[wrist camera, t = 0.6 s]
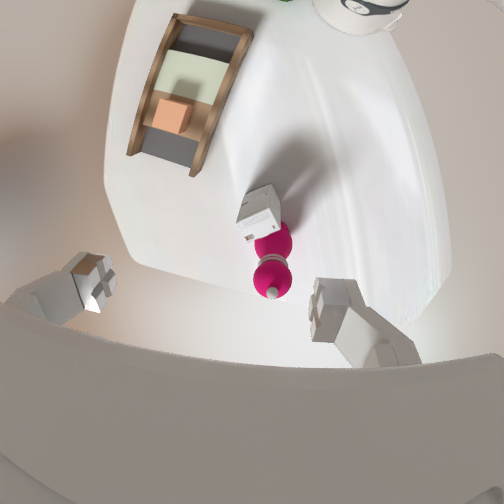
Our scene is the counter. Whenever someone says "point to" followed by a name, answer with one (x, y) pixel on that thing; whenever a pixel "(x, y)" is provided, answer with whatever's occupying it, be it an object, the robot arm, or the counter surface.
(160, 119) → the block
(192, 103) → the box
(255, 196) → the skincare box
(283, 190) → the counter surface
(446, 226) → the counter surface
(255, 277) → the pepper mill
